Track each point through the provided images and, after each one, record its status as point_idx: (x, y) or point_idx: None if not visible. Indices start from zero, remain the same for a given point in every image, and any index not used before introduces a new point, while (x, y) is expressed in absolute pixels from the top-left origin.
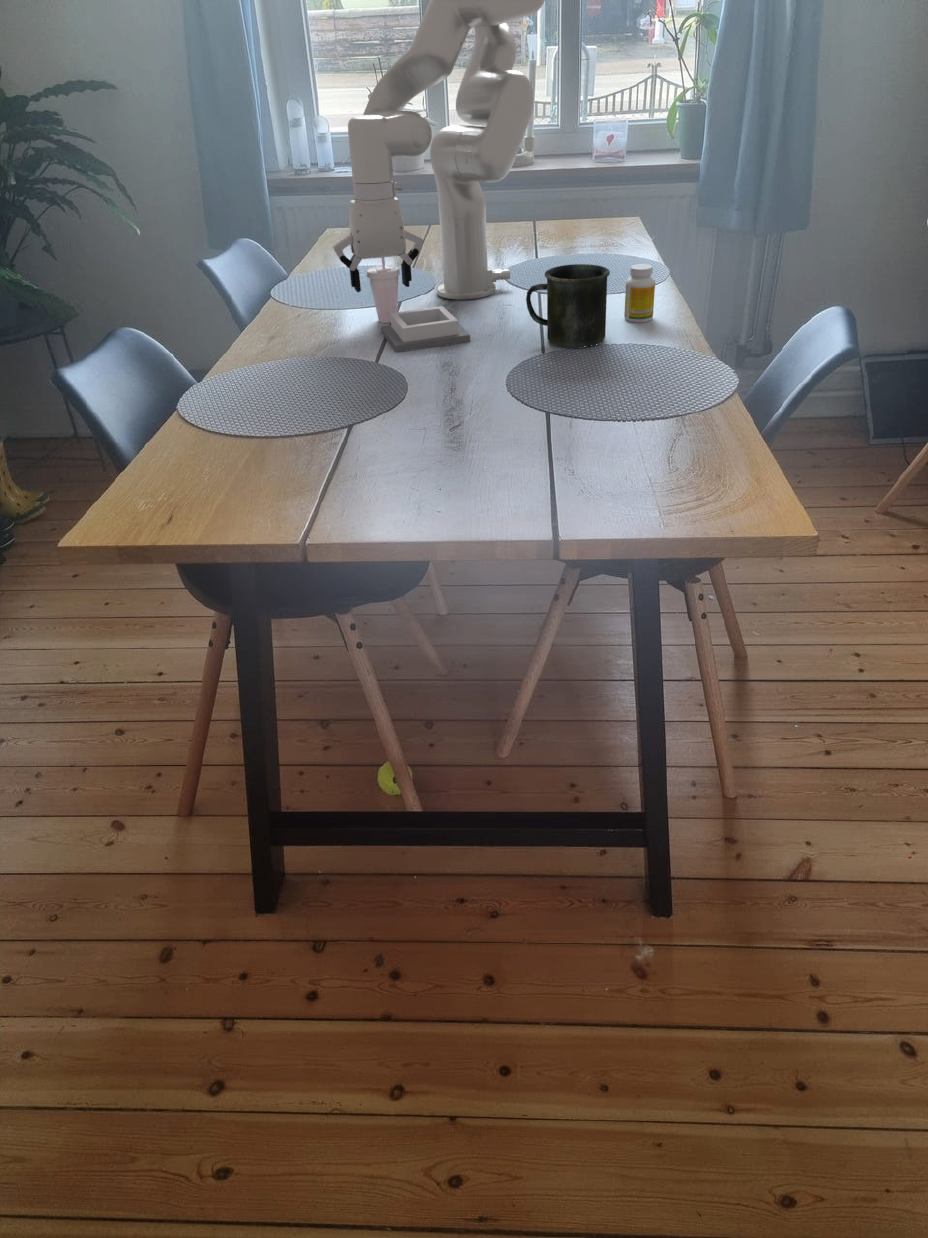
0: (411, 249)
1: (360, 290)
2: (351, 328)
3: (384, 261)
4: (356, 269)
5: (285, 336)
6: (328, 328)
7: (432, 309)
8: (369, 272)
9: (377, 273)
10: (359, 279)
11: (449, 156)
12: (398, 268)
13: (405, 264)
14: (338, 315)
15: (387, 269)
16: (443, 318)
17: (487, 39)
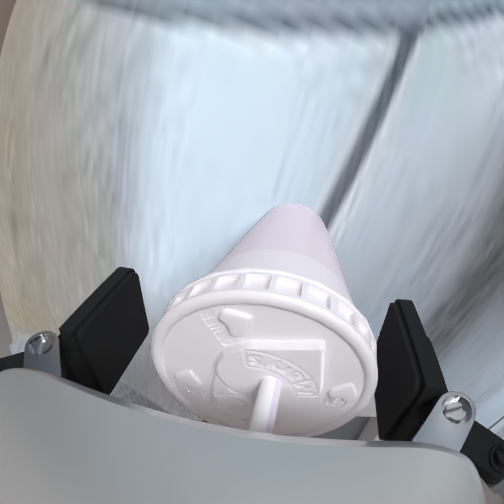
0: (484, 475)
1: (146, 332)
2: (160, 255)
3: (270, 427)
4: (91, 386)
5: (29, 227)
6: (101, 218)
7: (373, 416)
8: (166, 386)
9: (208, 421)
10: (124, 368)
11: None
12: (358, 411)
13: (398, 436)
14: (136, 86)
15: (282, 410)
16: (373, 429)
17: None
